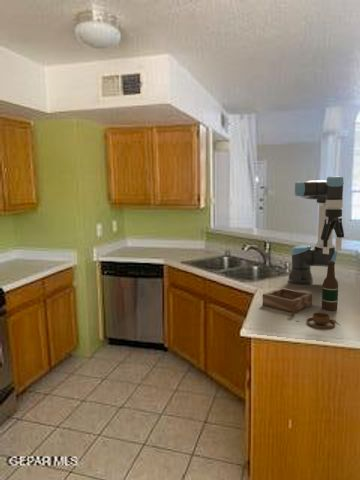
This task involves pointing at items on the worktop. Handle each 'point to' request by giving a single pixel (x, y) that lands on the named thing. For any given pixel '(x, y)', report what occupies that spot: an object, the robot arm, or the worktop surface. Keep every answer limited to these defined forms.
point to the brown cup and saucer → (317, 319)
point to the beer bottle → (330, 289)
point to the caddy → (287, 299)
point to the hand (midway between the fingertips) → (332, 252)
